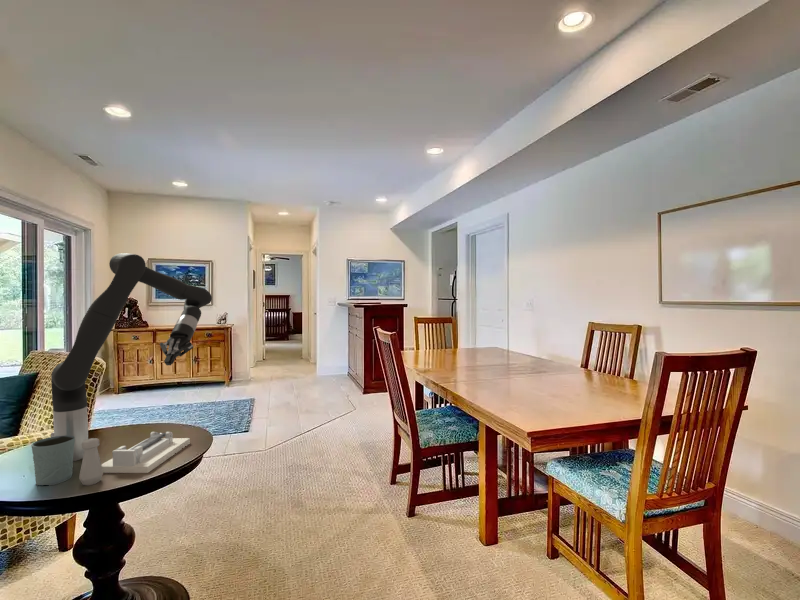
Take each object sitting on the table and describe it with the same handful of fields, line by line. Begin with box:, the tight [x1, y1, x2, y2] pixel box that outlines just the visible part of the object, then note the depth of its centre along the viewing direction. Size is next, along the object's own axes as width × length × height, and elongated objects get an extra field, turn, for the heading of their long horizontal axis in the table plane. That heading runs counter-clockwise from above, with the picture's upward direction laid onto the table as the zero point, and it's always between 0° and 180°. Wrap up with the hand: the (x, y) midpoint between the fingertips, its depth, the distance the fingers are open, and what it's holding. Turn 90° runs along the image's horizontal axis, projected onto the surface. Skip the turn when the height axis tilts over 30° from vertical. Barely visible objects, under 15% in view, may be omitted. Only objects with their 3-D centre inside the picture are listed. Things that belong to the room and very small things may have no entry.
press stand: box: [101, 431, 191, 474], centre depth 143 cm, size 16×25×7 cm, turn 179°
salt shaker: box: [78, 437, 104, 486], centre depth 124 cm, size 6×6×13 cm
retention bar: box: [129, 432, 166, 450], centre depth 143 cm, size 3×19×1 cm, turn 179°
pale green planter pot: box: [30, 435, 75, 486], centre depth 127 cm, size 10×10×12 cm
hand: (167, 364), depth 156 cm, fingers closed
